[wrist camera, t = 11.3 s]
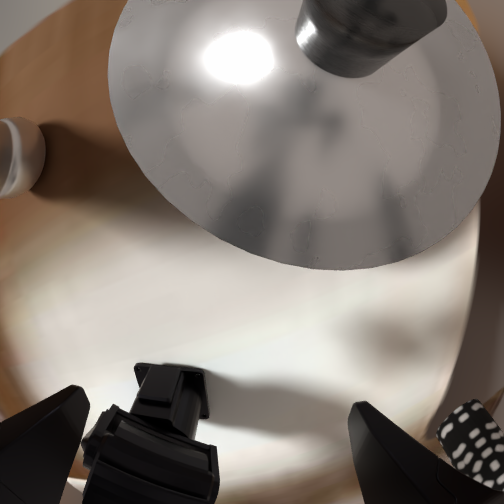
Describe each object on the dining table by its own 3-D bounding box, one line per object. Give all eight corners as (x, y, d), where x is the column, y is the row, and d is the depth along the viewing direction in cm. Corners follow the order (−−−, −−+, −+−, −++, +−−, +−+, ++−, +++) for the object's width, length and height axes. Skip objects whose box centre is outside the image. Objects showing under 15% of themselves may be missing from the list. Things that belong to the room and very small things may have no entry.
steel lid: (482, 258, 12) (553, 297, 6) (122, 262, 12) (45, 324, 6) (450, -22, 7) (495, -54, 1) (148, -57, 7) (117, -112, 1)
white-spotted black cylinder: (479, 413, 27) (530, 492, 7) (438, 444, 28) (480, 530, 9) (479, 390, 25) (544, 480, 6) (433, 425, 26) (486, 528, 7)
